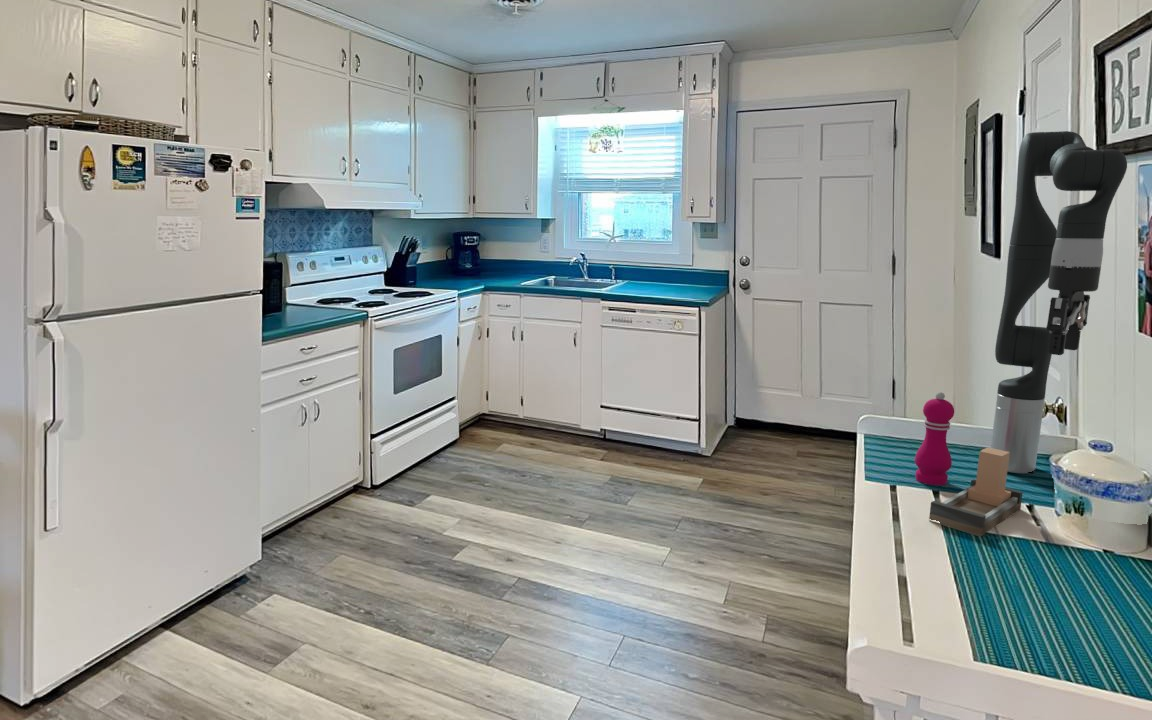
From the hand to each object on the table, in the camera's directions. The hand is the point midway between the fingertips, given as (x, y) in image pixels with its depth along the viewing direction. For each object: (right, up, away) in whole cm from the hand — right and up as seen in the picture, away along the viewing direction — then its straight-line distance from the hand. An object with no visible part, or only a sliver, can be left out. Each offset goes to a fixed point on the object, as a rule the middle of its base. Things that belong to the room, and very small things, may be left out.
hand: (1063, 352), depth 129 cm
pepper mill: (-12, -28, +24) cm, 39 cm away
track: (-13, -32, +5) cm, 35 cm away
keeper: (-9, -29, +9) cm, 32 cm away
